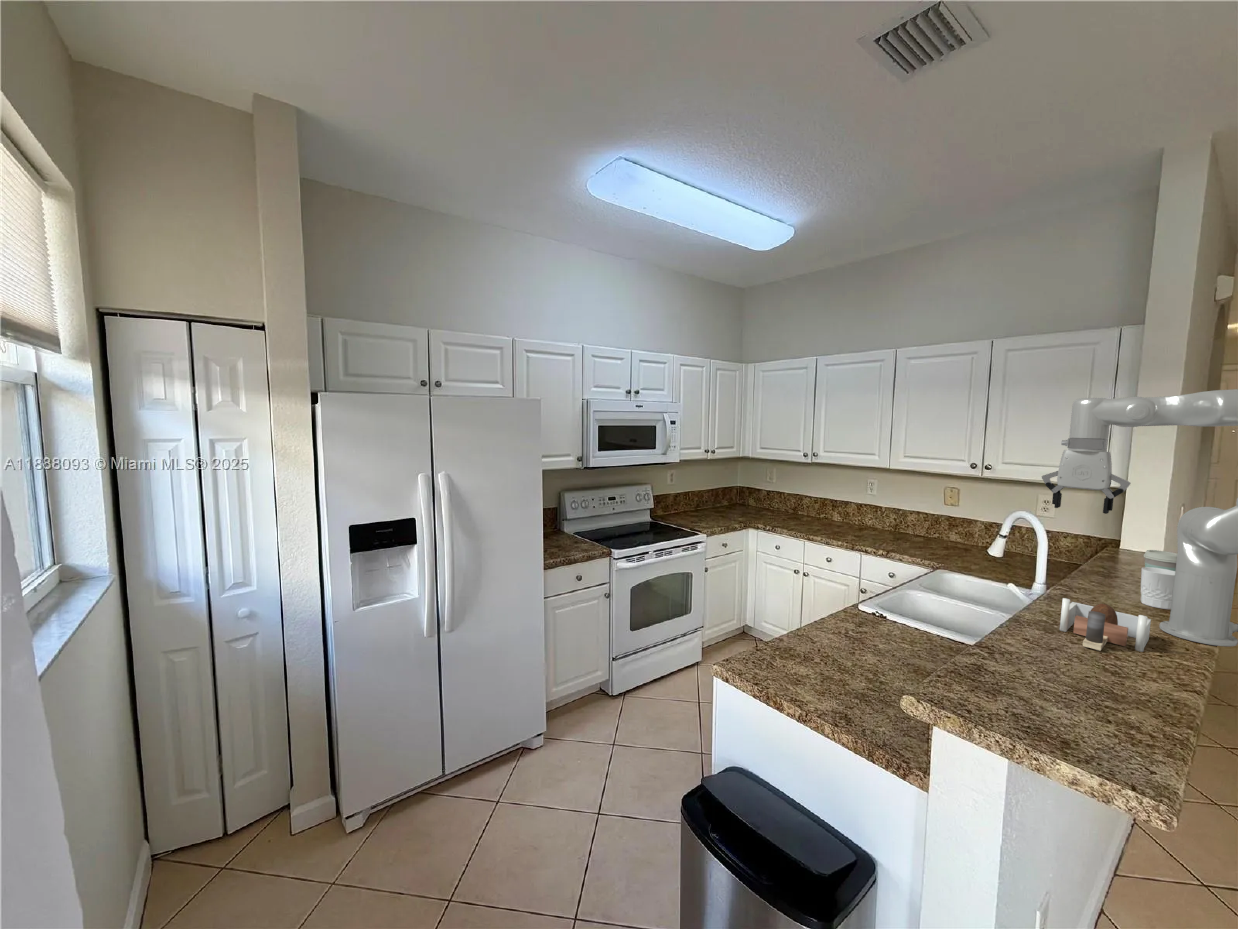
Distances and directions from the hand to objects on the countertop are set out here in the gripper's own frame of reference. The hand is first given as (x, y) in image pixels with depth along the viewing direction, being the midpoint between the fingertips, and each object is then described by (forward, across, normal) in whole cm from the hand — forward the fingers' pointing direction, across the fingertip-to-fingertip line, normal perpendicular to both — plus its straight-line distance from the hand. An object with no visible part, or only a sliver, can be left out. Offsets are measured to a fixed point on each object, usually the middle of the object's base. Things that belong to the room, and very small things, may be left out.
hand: (1080, 510), depth 134 cm
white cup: (+28, +13, +31) cm, 44 cm away
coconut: (+28, +8, -13) cm, 32 cm away
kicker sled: (+28, +8, -21) cm, 36 cm away
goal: (+28, +8, -12) cm, 32 cm away
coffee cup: (+28, +12, +50) cm, 59 cm away
